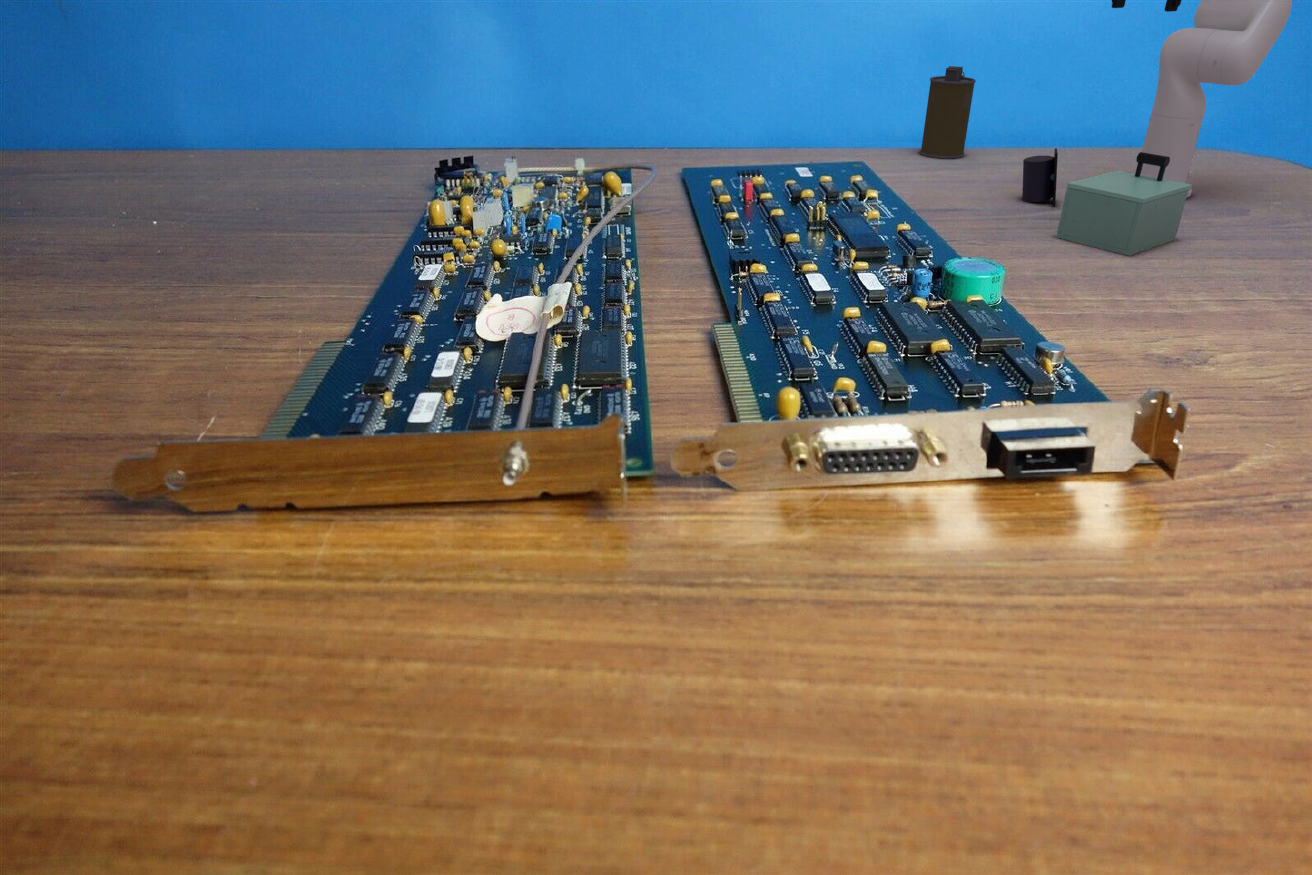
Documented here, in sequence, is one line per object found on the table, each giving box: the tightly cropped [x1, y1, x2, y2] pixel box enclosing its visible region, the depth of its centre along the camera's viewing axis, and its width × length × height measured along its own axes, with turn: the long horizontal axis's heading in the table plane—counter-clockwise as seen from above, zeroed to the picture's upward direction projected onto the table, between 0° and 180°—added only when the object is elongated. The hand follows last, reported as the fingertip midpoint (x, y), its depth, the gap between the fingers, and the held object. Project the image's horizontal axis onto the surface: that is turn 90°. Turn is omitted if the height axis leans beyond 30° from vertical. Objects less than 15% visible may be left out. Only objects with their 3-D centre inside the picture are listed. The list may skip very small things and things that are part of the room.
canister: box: [919, 65, 976, 160], centre depth 224 cm, size 11×10×20 cm
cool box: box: [1056, 187, 1189, 257], centre depth 164 cm, size 16×14×9 cm
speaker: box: [1021, 147, 1059, 208], centre depth 187 cm, size 8×6×10 cm
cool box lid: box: [1066, 151, 1193, 203], centre depth 161 cm, size 16×14×5 cm
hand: (1143, 9), depth 165 cm, fingers open, 9 cm apart
